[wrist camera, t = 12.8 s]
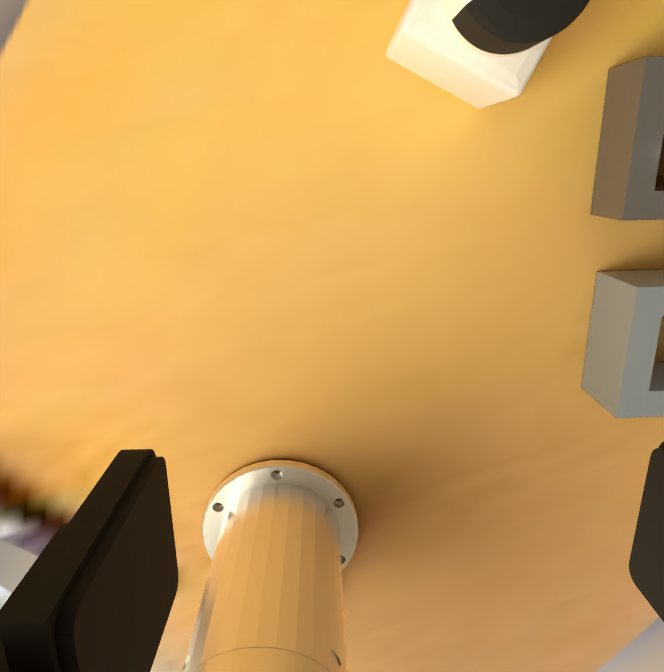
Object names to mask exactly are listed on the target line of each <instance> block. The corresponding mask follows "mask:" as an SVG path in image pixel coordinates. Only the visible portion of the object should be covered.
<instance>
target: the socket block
mask: <svg viewBox="0 0 664 672" xmlns="http://www.w3.org/2000/svg"><path fill="white" fill-rule="evenodd" d="M662 316H664V270H631V271H597V275H596V282H595V290H594V297H593V304H592V312H591V319H590V326H589V334H588V341H587V348H586V356H585V363H584V371H583V378H582V385H581V388H582V389H583V390H584V391H585V392H587V393H588V394H589V395H590V396H591V397H592V398H594V399H595V400H596V401H597V402H598V403H599V404H600V405H602V406H603V407H604V408H605V409H606V410H607V411H609V412H610V413H611V414H612V415H613V416H614V417H615V418H635V417H664V362H654V360H655V354H656V349H657V343H658V338H659V332H660V327H661V321H662Z"/></svg>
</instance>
